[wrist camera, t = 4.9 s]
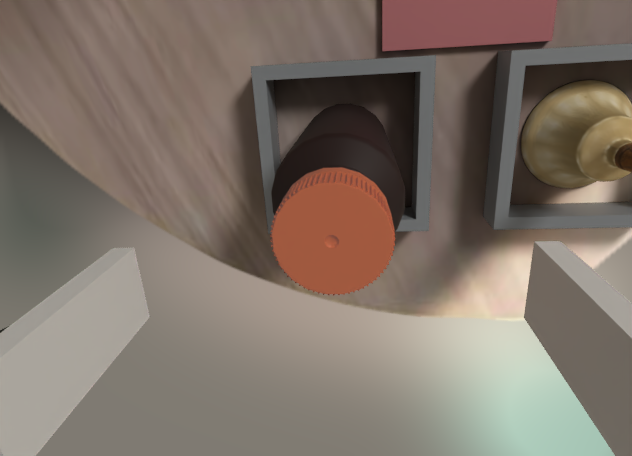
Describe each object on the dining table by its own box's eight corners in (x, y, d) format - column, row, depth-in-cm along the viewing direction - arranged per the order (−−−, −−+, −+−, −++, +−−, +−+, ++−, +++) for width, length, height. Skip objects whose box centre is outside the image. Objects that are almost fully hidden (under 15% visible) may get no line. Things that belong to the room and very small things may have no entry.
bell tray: (498, 51, 32) (511, 50, 29) (689, 39, 30) (722, 38, 27) (483, 216, 36) (493, 229, 33) (647, 213, 35) (672, 226, 32)
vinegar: (343, 84, 33) (327, 115, 15) (404, 143, 35) (458, 240, 16) (287, 147, 36) (211, 242, 17) (346, 201, 37) (335, 344, 18)
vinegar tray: (259, 65, 33) (250, 66, 31) (429, 55, 32) (435, 55, 29) (274, 221, 38) (268, 233, 35) (423, 218, 37) (428, 230, 34)
